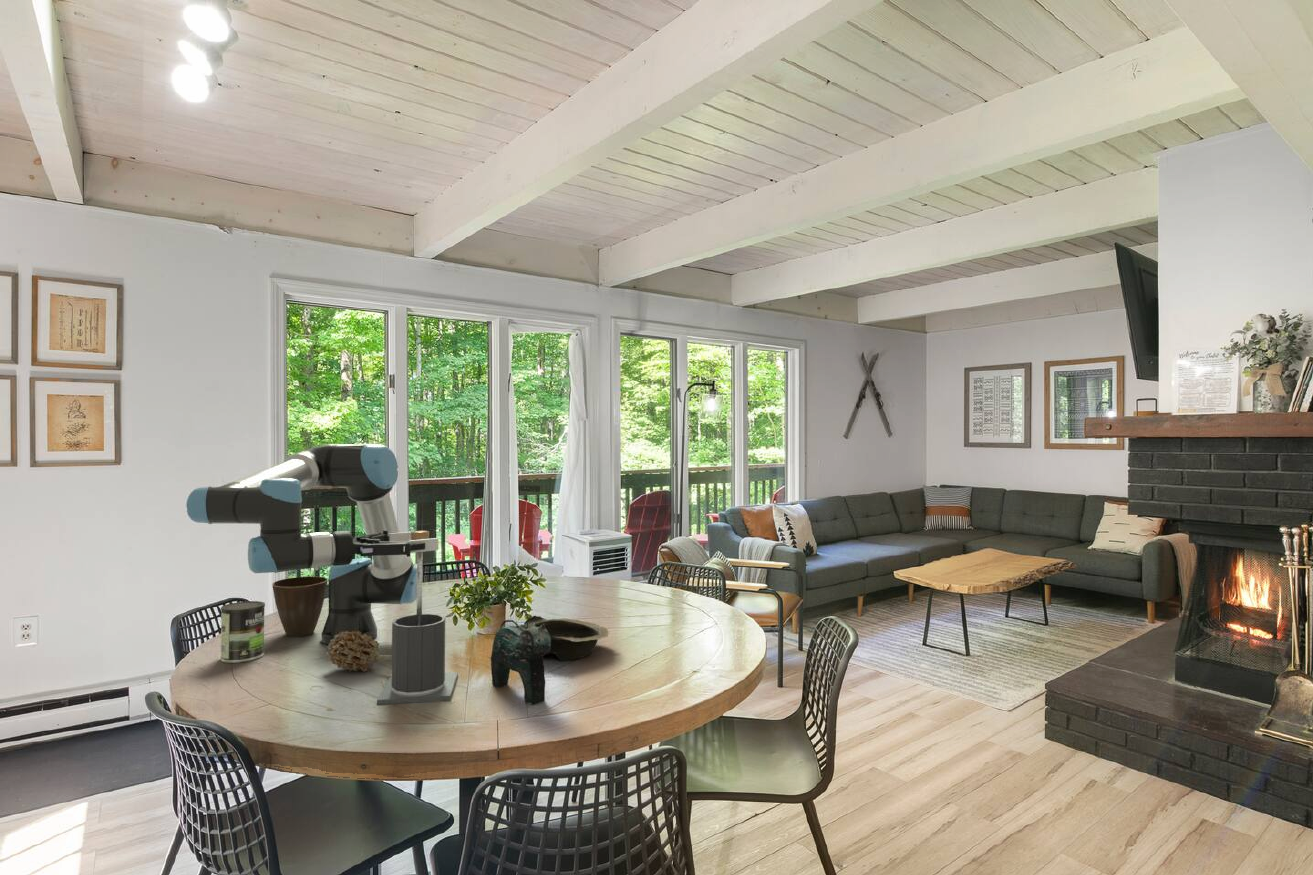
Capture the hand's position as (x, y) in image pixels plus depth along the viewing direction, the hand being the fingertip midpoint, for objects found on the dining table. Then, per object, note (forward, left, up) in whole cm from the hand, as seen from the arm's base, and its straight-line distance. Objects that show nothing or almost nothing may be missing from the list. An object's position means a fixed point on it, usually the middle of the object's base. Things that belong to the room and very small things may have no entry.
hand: (426, 540), depth 163 cm
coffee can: (-34, -52, -36) cm, 72 cm away
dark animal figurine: (+5, +22, -36) cm, 42 cm away
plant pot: (-55, -44, -36) cm, 79 cm away
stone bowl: (-25, +35, -36) cm, 56 cm away
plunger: (0, -1, -25) cm, 25 cm away
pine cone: (-17, -16, -36) cm, 43 cm away
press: (-1, -1, -36) cm, 36 cm away
